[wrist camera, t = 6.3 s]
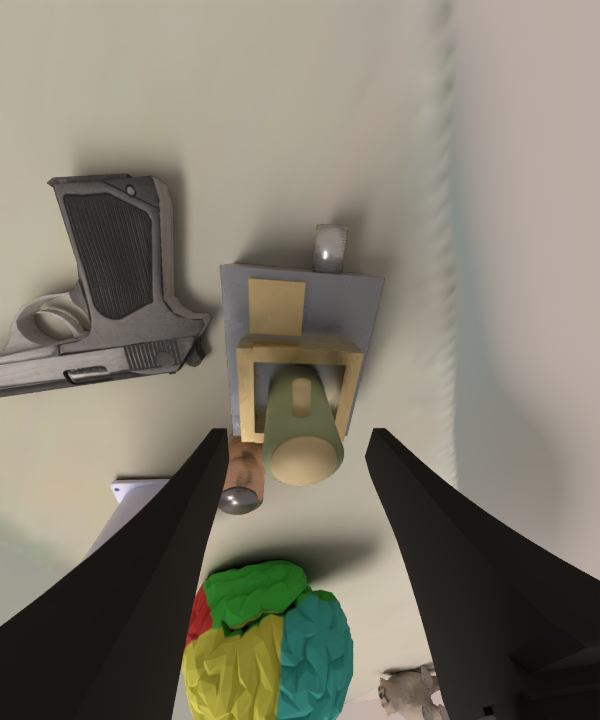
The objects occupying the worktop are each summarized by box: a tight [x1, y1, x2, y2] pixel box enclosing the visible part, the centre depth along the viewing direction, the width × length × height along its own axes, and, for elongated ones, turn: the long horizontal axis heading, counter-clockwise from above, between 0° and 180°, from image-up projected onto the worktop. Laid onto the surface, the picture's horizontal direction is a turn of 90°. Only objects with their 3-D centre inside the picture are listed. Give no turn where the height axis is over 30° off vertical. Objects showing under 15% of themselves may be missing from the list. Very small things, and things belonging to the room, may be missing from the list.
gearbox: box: [220, 224, 384, 443], centre depth 14 cm, size 14×9×5 cm, turn 175°
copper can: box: [218, 434, 265, 515], centre depth 19 cm, size 4×4×6 cm
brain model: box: [182, 560, 353, 720], centre depth 29 cm, size 24×19×15 cm
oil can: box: [262, 366, 344, 486], centre depth 12 cm, size 5×4×6 cm
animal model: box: [378, 665, 450, 720], centre depth 74 cm, size 14×28×17 cm
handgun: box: [0, 174, 211, 397], centre depth 14 cm, size 18×2×12 cm
